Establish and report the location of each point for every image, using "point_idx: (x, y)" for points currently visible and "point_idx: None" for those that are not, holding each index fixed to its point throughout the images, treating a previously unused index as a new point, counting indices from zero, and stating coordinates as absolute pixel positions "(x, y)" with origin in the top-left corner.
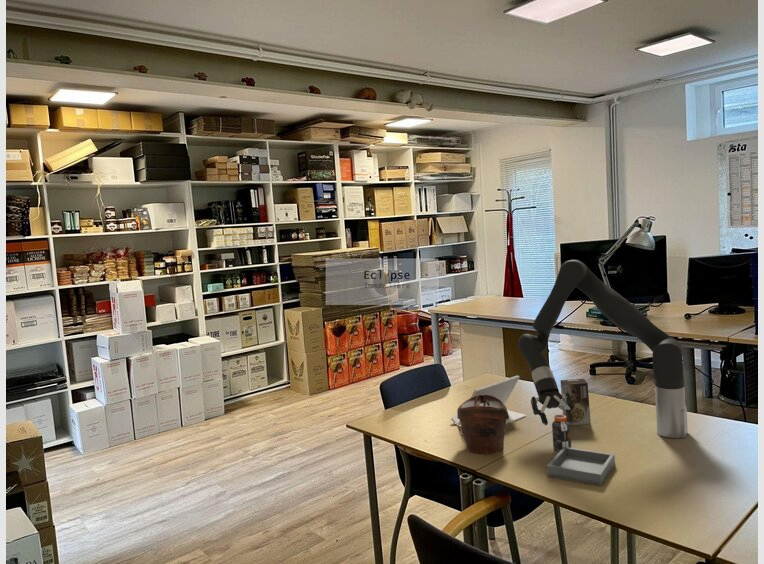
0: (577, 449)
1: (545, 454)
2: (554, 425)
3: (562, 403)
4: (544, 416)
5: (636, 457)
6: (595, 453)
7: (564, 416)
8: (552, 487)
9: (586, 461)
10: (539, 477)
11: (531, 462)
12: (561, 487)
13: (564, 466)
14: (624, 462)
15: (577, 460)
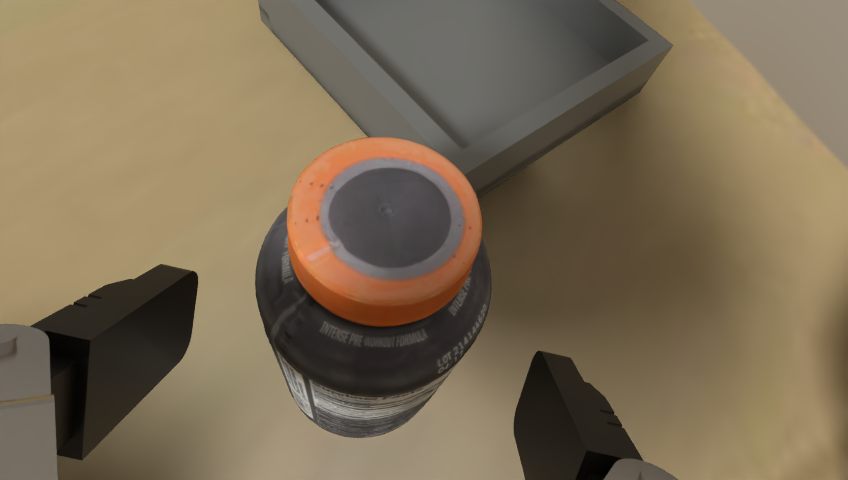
0: (401, 98)
1: (542, 318)
2: (486, 255)
3: (12, 424)
4: (595, 407)
5: (72, 18)
6: (333, 22)
7: (334, 176)
8: (651, 23)
9: (391, 74)
10: (679, 104)
11: (673, 258)
12: None
13: (536, 90)
14: (191, 15)
15: (429, 104)
